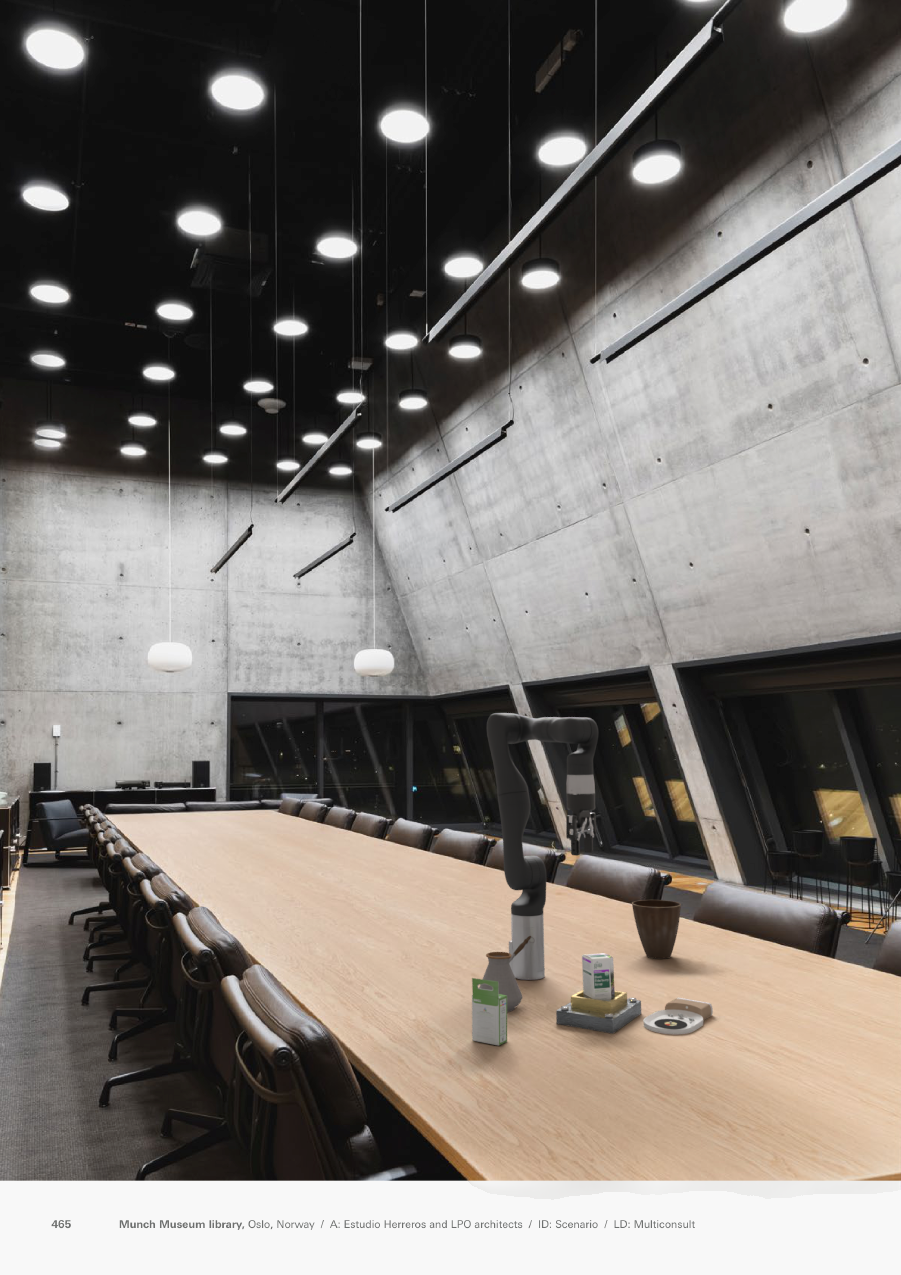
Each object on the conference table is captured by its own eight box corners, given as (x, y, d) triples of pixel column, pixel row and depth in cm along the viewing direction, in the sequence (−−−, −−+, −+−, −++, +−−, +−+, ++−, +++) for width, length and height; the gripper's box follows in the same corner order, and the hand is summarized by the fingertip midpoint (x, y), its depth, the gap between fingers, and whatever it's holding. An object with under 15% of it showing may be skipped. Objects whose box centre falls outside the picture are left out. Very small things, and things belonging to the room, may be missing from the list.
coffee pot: (505, 1018, 210) (505, 952, 212) (467, 1009, 217) (466, 946, 219) (551, 998, 227) (550, 938, 229) (514, 991, 233) (513, 932, 235)
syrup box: (593, 1023, 205) (592, 958, 207) (583, 1016, 211) (581, 953, 213) (616, 1021, 207) (614, 957, 208) (604, 1014, 212) (603, 951, 214)
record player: (716, 1004, 210) (682, 1026, 194) (717, 1018, 210) (683, 1040, 194) (671, 996, 217) (634, 1016, 202) (671, 1009, 217) (635, 1030, 201)
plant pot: (623, 954, 276) (622, 901, 278) (662, 949, 282) (660, 898, 284) (654, 964, 262) (652, 908, 265) (693, 958, 269) (691, 905, 271)
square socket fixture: (556, 1024, 205) (556, 999, 205) (587, 1005, 220) (587, 982, 220) (613, 1033, 197) (612, 1008, 198) (641, 1013, 212) (640, 990, 213)
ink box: (508, 1042, 192) (507, 978, 194) (499, 1047, 189) (498, 982, 191) (481, 1036, 196) (480, 974, 198) (471, 1041, 193) (471, 977, 194)
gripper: (578, 790, 243) (580, 850, 241) (556, 792, 231) (557, 855, 229) (604, 791, 239) (605, 852, 237) (582, 793, 227) (584, 857, 225)
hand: (582, 853), depth 233 cm, fingers open, 8 cm apart
